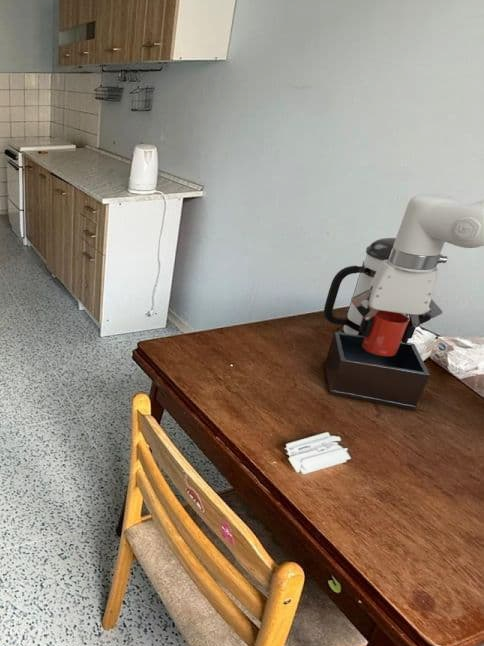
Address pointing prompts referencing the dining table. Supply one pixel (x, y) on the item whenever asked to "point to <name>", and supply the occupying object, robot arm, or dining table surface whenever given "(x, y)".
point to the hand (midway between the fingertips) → (383, 336)
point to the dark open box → (375, 372)
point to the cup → (386, 333)
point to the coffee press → (358, 285)
